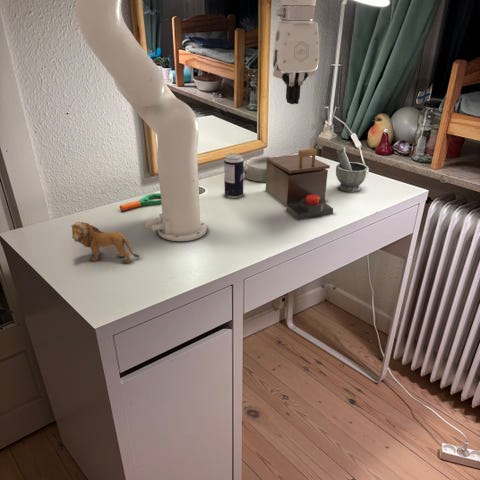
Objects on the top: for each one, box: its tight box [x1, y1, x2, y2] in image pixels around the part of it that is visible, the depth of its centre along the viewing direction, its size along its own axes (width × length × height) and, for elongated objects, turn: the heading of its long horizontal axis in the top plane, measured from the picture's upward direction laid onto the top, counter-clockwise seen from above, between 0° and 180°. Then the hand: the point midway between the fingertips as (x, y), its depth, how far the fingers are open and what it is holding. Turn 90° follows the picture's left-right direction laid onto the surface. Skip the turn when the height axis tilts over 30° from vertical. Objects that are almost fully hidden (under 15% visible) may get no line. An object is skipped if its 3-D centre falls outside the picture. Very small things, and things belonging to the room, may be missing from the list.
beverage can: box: [223, 152, 245, 199], centre depth 144 cm, size 6×6×12 cm
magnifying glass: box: [119, 192, 162, 212], centre depth 141 cm, size 15×6×2 cm, turn 133°
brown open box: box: [265, 161, 329, 208], centre depth 145 cm, size 15×13×9 cm
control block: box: [286, 198, 334, 221], centre depth 136 cm, size 11×8×4 cm
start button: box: [306, 195, 319, 205], centre depth 134 cm, size 4×4×2 cm
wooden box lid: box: [267, 148, 331, 174], centre depth 141 cm, size 15×13×5 cm
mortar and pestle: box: [335, 146, 370, 193], centre depth 150 cm, size 11×9×12 cm
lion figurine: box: [70, 221, 140, 264], centre depth 112 cm, size 15×5×9 cm, turn 90°
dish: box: [244, 155, 273, 183], centre depth 161 cm, size 14×14×5 cm
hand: (292, 102), depth 119 cm, fingers closed
